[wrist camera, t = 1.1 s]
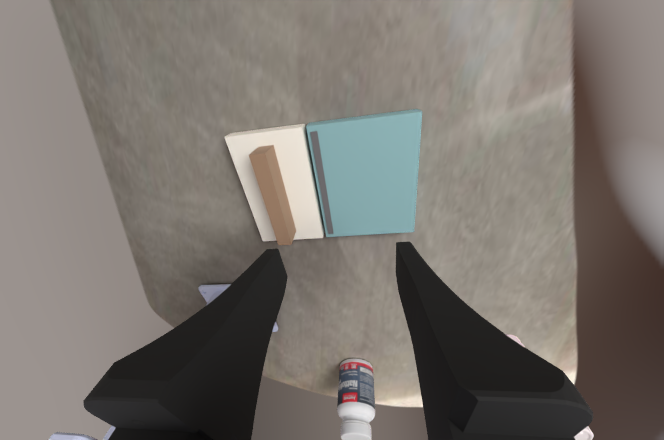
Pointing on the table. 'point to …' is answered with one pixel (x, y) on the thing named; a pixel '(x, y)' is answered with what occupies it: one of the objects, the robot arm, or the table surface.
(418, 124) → the teal flat block
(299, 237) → the cream block with bar
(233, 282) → the robot arm
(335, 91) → the table surface
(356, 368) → the pill bottle
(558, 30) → the table surface
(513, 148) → the table surface
